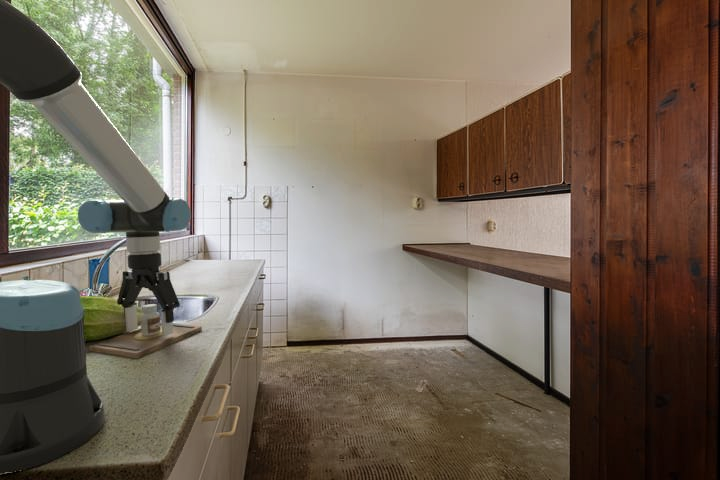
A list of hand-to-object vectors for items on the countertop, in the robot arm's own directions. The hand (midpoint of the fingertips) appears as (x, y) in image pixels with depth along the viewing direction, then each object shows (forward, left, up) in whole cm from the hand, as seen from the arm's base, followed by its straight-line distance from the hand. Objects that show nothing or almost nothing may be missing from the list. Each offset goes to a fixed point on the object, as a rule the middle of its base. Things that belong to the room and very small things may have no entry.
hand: (149, 332), depth 92 cm
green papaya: (-2, +15, -2) cm, 15 cm away
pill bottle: (0, 0, -1) cm, 1 cm away
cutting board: (0, 0, -2) cm, 2 cm away
